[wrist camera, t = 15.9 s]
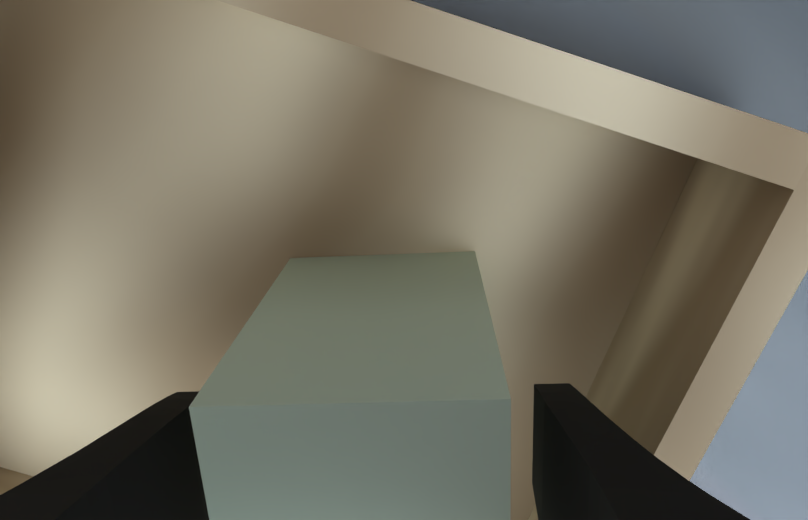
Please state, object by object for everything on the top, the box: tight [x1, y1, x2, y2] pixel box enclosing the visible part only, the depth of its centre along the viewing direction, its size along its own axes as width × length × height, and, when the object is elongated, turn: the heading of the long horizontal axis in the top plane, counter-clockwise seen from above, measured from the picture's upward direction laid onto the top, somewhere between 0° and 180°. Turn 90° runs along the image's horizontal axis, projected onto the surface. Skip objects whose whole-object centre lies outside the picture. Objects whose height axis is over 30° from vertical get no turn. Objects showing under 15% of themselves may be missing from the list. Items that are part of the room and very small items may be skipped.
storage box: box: [0, 0, 808, 520], centre depth 13 cm, size 16×14×4 cm
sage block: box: [189, 251, 511, 520], centre depth 11 cm, size 4×4×6 cm
